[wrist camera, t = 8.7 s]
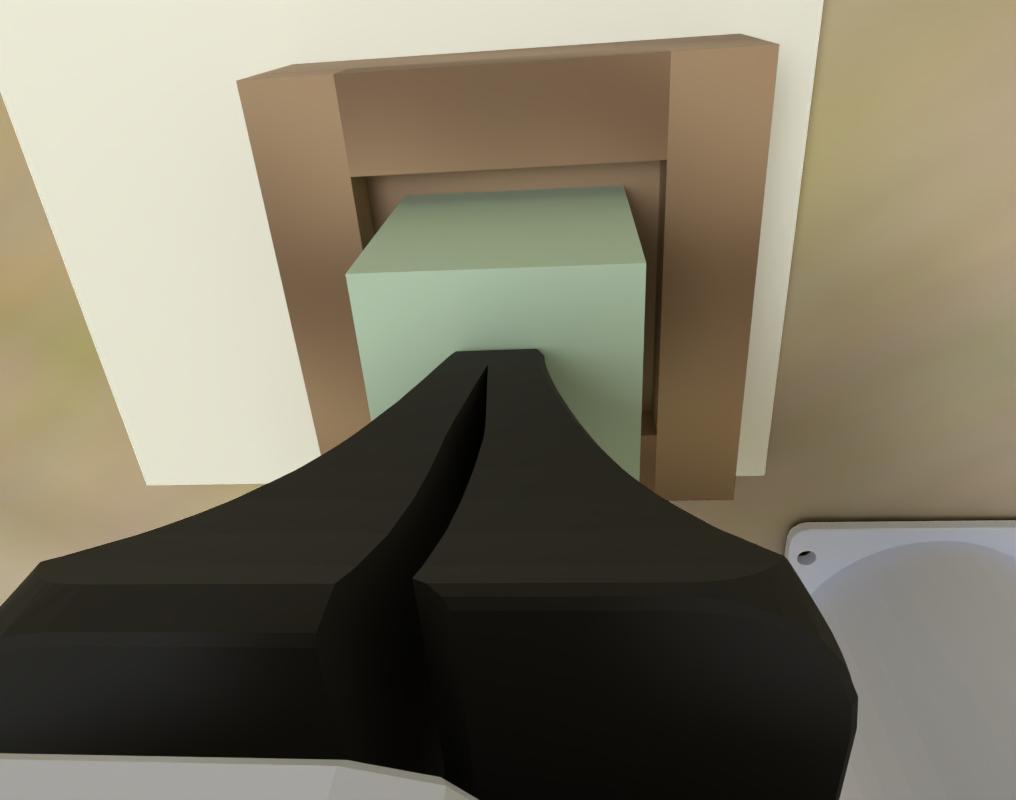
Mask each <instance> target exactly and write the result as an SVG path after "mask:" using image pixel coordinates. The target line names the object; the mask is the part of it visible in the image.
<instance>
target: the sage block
mask: <svg viewBox="0 0 1016 800" xmlns="http://www.w3.org/2000/svg"><path fill="white" fill-rule="evenodd" d="M345 275H346V280H347V286H348V292H349V297H350V303H351V309H352V314H353V320H354V326H355V332H356V337H357V343H358V349H359V354H360V360H361V366H362V372H363V377H364V383H365V389H366V394H367V400H368V406H369V411H370V417H371V421H373V420H374V419H375V418H376V417H378V416H379V415H380V414H382V413H383V412H384V411H386V410H387V409H388V408H390V407H391V406H392V405H394V404H395V403H396V402H397V401H399V400H400V399H401V398H402V397H403V396H404V395H406V394H407V393H408V392H409V391H410V390H411V389H413V388H414V387H415V386H416V385H417V384H418V383H419V382H421V381H422V380H423V379H424V378H425V377H426V376H427V375H429V374H430V373H431V372H432V371H433V370H434V369H435V368H436V367H437V366H439V365H440V364H441V363H442V362H443V361H444V360H445V359H446V358H448V357H449V356H450V355H451V354H453V353H454V352H455V351H483V350H515V349H538V350H539V351H540V352H541V353H542V354H543V355H544V356H545V364H546V367H547V370H548V372H549V375H550V377H551V379H552V381H553V383H554V385H555V386H556V388H557V390H558V392H559V393H560V395H561V396H562V398H563V400H564V401H565V403H566V404H567V406H568V407H569V409H570V410H571V412H572V413H573V415H574V416H575V417H576V419H577V420H578V421H579V423H580V424H581V425H582V426H583V427H584V429H585V430H586V431H587V432H588V434H589V435H590V436H591V437H592V438H593V440H594V441H595V442H596V443H597V444H598V445H599V446H600V447H601V448H602V449H603V450H604V451H605V452H606V453H607V454H608V455H609V456H610V457H611V458H612V459H613V460H614V461H615V462H616V463H617V464H618V465H619V466H620V467H621V468H622V469H623V470H625V471H626V472H627V473H628V474H629V475H631V476H632V477H634V478H635V479H636V480H638V481H639V477H640V446H641V414H642V383H643V352H644V320H645V289H646V260H645V257H644V254H643V250H642V247H641V243H640V240H639V237H638V233H637V230H636V226H635V223H634V219H633V216H632V213H631V209H630V206H629V202H628V199H627V196H626V192H625V189H624V185H617V186H595V187H573V188H551V189H529V190H507V191H485V192H463V193H440V194H418V195H405V196H404V197H403V199H402V200H401V201H400V203H399V204H398V205H397V207H396V208H395V209H394V211H393V212H392V213H391V215H390V216H389V217H388V218H387V220H386V221H385V222H384V224H383V225H382V226H381V228H380V229H379V230H378V232H377V233H376V234H375V236H374V237H373V238H372V240H371V241H370V242H369V244H368V245H367V246H366V247H365V249H364V250H363V251H362V253H361V254H360V255H359V257H358V258H357V259H356V261H355V262H354V263H353V265H352V266H351V267H350V269H349V270H348V271H347V273H346V274H345Z"/></svg>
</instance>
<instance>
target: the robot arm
mask: <svg viewBox="0 0 1016 800" xmlns="http://www.w3.org/2000/svg"><path fill="white" fill-rule="evenodd" d="M804 551H811V552H810V553H809V554H807V555H804V556H799V554H800V553H802V552H804ZM0 800H1016V520H985V521H885V522H806V523H800V524H798V525H796V526H794V527H793V528H792V529H791V530H790V531H789V533H788V536H787V541H786V548H785V554H784V556H782V555H780V554H777V553H775V552H772V551H770V550H768V549H765V548H763V547H761V546H758V545H756V544H753V543H751V542H749V541H746V540H744V539H741V538H739V537H737V536H734V535H732V534H729V533H727V532H725V531H722V530H720V529H718V528H716V527H714V526H712V525H710V524H708V523H706V522H704V521H702V520H700V519H699V518H697V517H695V516H693V515H691V514H689V513H687V512H686V511H684V510H682V509H680V508H678V507H677V506H675V505H673V504H672V503H670V502H669V501H667V500H665V499H664V498H662V497H660V496H659V495H657V494H656V493H654V492H653V491H652V490H650V489H649V488H647V487H646V486H645V485H643V484H642V483H641V482H639V481H638V480H636V479H635V478H634V477H632V476H631V475H629V474H628V473H627V472H626V471H625V470H623V469H622V468H621V467H620V466H619V465H618V464H617V463H616V462H615V461H614V460H613V459H612V458H611V457H610V456H609V455H608V454H607V453H606V452H605V451H604V450H603V449H602V448H601V447H600V446H599V445H598V444H597V443H596V442H595V441H594V440H593V438H592V437H591V436H590V435H589V434H588V432H587V431H586V430H585V429H584V427H583V426H582V425H581V424H580V423H579V421H578V420H577V419H576V417H575V416H574V415H573V413H572V412H571V410H570V409H569V407H568V406H567V404H566V403H565V401H564V400H563V398H562V396H561V395H560V393H559V392H558V390H557V388H556V386H555V385H554V383H553V381H552V379H551V377H550V375H549V372H548V370H547V367H546V364H545V356H544V355H543V354H542V353H541V352H540V351H539V350H538V349H515V350H483V351H455V352H454V353H453V354H451V355H450V356H449V357H448V358H446V359H445V360H444V361H443V362H442V363H441V364H440V365H439V366H437V367H436V368H435V369H434V370H433V371H432V372H431V373H430V374H429V375H427V376H426V377H425V378H424V379H423V380H422V381H421V382H419V383H418V384H417V385H416V386H415V387H414V388H413V389H411V390H410V391H409V392H408V393H407V394H406V395H404V396H403V397H402V398H401V399H400V400H399V401H397V402H396V403H395V404H394V405H392V406H391V407H390V408H388V409H387V410H386V411H384V412H383V413H382V414H380V415H379V416H378V417H376V418H375V419H374V420H373V421H371V422H370V423H369V424H367V425H366V426H365V427H363V428H362V429H361V430H359V431H358V432H357V433H355V434H354V435H352V436H351V437H349V438H348V439H346V440H345V441H343V442H342V443H340V444H339V445H337V446H336V447H334V448H333V449H331V450H329V451H328V452H326V453H324V454H323V455H321V456H319V457H317V458H316V459H314V460H312V461H311V462H309V463H307V464H305V465H304V466H302V467H300V468H298V469H296V470H295V471H293V472H291V473H289V474H286V475H284V476H282V477H280V478H278V479H276V480H274V481H272V482H270V483H268V484H266V485H263V486H261V487H259V488H257V489H255V490H253V491H251V492H249V493H247V494H245V495H243V496H241V497H238V498H236V499H234V500H231V501H229V502H227V503H224V504H222V505H219V506H217V507H214V508H212V509H209V510H207V511H204V512H202V513H199V514H196V515H194V516H191V517H188V518H185V519H183V520H180V521H177V522H174V523H171V524H169V525H166V526H163V527H160V528H157V529H154V530H151V531H148V532H145V533H142V534H139V535H136V536H132V537H129V538H125V539H122V540H118V541H115V542H111V543H108V544H104V545H101V546H97V547H94V548H90V549H87V550H83V551H80V552H76V553H73V554H69V555H66V556H62V557H58V558H54V559H50V560H46V561H42V562H40V563H39V564H38V565H37V566H36V568H35V569H34V570H33V571H32V572H31V573H30V574H29V575H28V577H27V578H26V579H25V580H24V581H23V582H22V583H21V584H20V585H19V587H18V588H17V589H16V590H15V591H14V592H13V593H12V594H11V595H10V597H9V598H8V599H7V600H6V601H5V602H4V603H3V604H2V605H1V606H0Z"/></svg>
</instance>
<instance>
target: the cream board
mask: <svg viewBox="0 0 1016 800" xmlns="http://www.w3.org/2000/svg"><path fill="white" fill-rule="evenodd" d="M823 2H824V0H0V92H1V95H2V97H3V100H4V103H5V105H6V108H7V111H8V113H9V116H10V119H11V121H12V124H13V127H14V130H15V132H16V135H17V138H18V140H19V143H20V146H21V148H22V151H23V154H24V156H25V159H26V162H27V164H28V167H29V170H30V173H31V175H32V178H33V181H34V183H35V186H36V189H37V191H38V194H39V197H40V199H41V202H42V205H43V207H44V210H45V213H46V215H47V218H48V221H49V224H50V226H51V229H52V232H53V234H54V237H55V240H56V242H57V245H58V248H59V250H60V253H61V256H62V258H63V261H64V264H65V267H66V269H67V272H68V275H69V277H70V280H71V283H72V285H73V288H74V291H75V293H76V296H77V299H78V301H79V304H80V307H81V309H82V312H83V315H84V318H85V320H86V323H87V326H88V328H89V331H90V334H91V336H92V339H93V342H94V344H95V347H96V350H97V352H98V355H99V358H100V361H101V363H102V366H103V369H104V371H105V374H106V377H107V379H108V382H109V385H110V387H111V390H112V393H113V395H114V398H115V401H116V403H117V406H118V409H119V412H120V414H121V417H122V420H123V422H124V425H125V428H126V430H127V433H128V436H129V438H130V441H131V444H132V446H133V449H134V452H135V455H136V457H137V460H138V463H139V465H140V468H141V471H142V473H143V476H144V479H145V481H146V484H147V485H199V484H264V483H270V482H272V481H274V480H276V479H278V478H280V477H282V476H284V475H286V474H289V473H291V472H293V471H295V470H296V469H298V468H300V467H302V466H304V465H305V464H307V463H309V462H311V461H312V460H314V459H316V458H317V457H319V456H321V454H320V449H319V445H318V440H317V436H316V431H315V427H314V423H313V418H312V414H311V409H310V405H309V401H308V396H307V392H306V387H305V383H304V379H303V374H302V370H301V365H300V361H299V356H298V352H297V348H296V343H295V339H294V334H293V330H292V326H291V321H290V317H289V312H288V308H287V304H286V299H285V295H284V290H283V286H282V281H281V277H280V273H279V268H278V264H277V259H276V255H275V251H274V246H273V242H272V237H271V233H270V229H269V224H268V220H267V215H266V211H265V206H264V202H263V198H262V193H261V189H260V184H259V180H258V176H257V171H256V167H255V162H254V158H253V154H252V149H251V145H250V140H249V136H248V131H247V127H246V123H245V118H244V114H243V109H242V105H241V101H240V96H239V92H238V87H237V83H236V81H237V80H240V79H244V78H247V77H251V76H254V75H257V74H261V73H264V72H268V71H271V70H275V69H278V68H281V67H285V66H288V65H292V64H304V63H318V62H333V61H347V60H362V59H376V58H391V57H405V56H420V55H435V54H449V53H464V52H478V51H493V50H507V49H522V48H536V47H551V46H566V45H580V44H595V43H609V42H624V41H638V40H653V39H667V38H682V37H696V36H711V35H726V34H740V33H741V34H744V35H748V36H751V37H755V38H759V39H762V40H766V41H770V42H773V43H777V44H780V45H779V54H778V64H777V74H776V84H775V94H774V104H773V114H772V123H771V133H770V143H769V153H768V163H767V173H766V183H765V192H764V202H763V212H762V222H761V232H760V242H759V252H758V262H757V271H756V281H755V291H754V301H753V311H752V321H751V331H750V340H749V350H748V360H747V370H746V380H745V390H744V400H743V409H742V419H741V429H740V439H739V449H738V459H737V469H736V476H765V468H766V460H767V452H768V444H769V436H770V428H771V420H772V412H773V404H774V396H775V387H776V379H777V371H778V363H779V355H780V347H781V339H782V331H783V323H784V315H785V307H786V299H787V291H788V283H789V275H790V267H791V259H792V251H793V243H794V235H795V227H796V219H797V211H798V203H799V195H800V186H801V178H802V170H803V162H804V154H805V146H806V138H807V130H808V122H809V114H810V106H811V98H812V90H813V82H814V74H815V66H816V58H817V50H818V42H819V34H820V26H821V18H822V10H823Z"/></svg>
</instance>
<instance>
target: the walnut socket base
mask: <svg viewBox="0 0 1016 800" xmlns="http://www.w3.org/2000/svg"><path fill="white" fill-rule="evenodd" d="M779 45H780V44H777V43H773V42H770V41H766V40H762V39H759V38H755V37H751V36H748V35H744V34H741V33H740V34H726V35H711V36H696V37H682V38H667V39H653V40H638V41H624V42H609V43H595V44H580V45H566V46H551V47H536V48H522V49H507V50H493V51H478V52H464V53H449V54H435V55H420V56H405V57H391V58H376V59H362V60H347V61H333V62H318V63H304V64H292V65H288V66H285V67H281V68H278V69H275V70H271V71H268V72H264V73H261V74H257V75H254V76H251V77H247V78H244V79H240V80H237V81H236V83H237V87H238V92H239V96H240V101H241V105H242V109H243V114H244V118H245V123H246V127H247V131H248V136H249V140H250V145H251V149H252V154H253V158H254V162H255V167H256V171H257V176H258V180H259V184H260V189H261V193H262V198H263V202H264V206H265V211H266V215H267V220H268V224H269V229H270V233H271V237H272V242H273V246H274V251H275V255H276V259H277V264H278V268H279V273H280V277H281V281H282V286H283V290H284V295H285V299H286V304H287V308H288V312H289V317H290V321H291V326H292V330H293V334H294V339H295V343H296V348H297V352H298V356H299V361H300V365H301V370H302V374H303V379H304V383H305V387H306V392H307V396H308V401H309V405H310V409H311V414H312V418H313V423H314V427H315V431H316V436H317V440H318V445H319V449H320V454H321V455H323V454H324V453H326V452H328V451H329V450H331V449H333V448H334V447H336V446H337V445H339V444H340V443H342V442H343V441H345V440H346V439H348V438H349V437H351V436H352V435H354V434H355V433H357V432H358V431H359V430H361V429H362V428H363V427H365V426H366V425H367V424H369V423H370V422H371V417H370V411H369V406H368V400H367V394H366V389H365V383H364V377H363V372H362V366H361V360H360V354H359V349H358V343H357V337H356V332H355V326H354V320H353V314H352V309H351V303H350V297H349V292H348V286H347V280H346V275H345V274H346V273H347V271H348V270H349V269H350V267H351V266H352V265H353V263H354V262H355V261H356V259H357V258H358V257H359V255H360V254H361V253H362V251H363V250H364V249H365V247H366V246H367V245H368V244H369V242H370V241H371V240H372V238H373V237H374V236H375V234H376V233H377V232H378V230H379V229H380V228H381V226H382V225H383V224H384V222H385V221H386V220H387V218H388V217H389V216H390V215H391V213H392V212H393V211H394V209H395V208H396V207H397V205H398V204H399V203H400V201H401V200H402V199H403V197H404V196H405V195H418V194H440V193H463V192H485V191H507V190H529V189H551V188H573V187H595V186H617V185H624V189H625V192H626V196H627V199H628V202H629V206H630V209H631V213H632V216H633V219H634V223H635V226H636V230H637V233H638V237H639V240H640V243H641V247H642V250H643V254H644V257H645V260H646V289H645V320H644V352H643V383H642V414H641V446H640V477H639V482H641V483H642V484H643V485H645V486H646V487H647V488H649V489H650V490H652V491H653V492H654V493H656V494H657V495H659V496H660V497H662V498H664V499H665V500H667V501H675V500H733V498H734V488H735V479H736V469H737V459H738V449H739V439H740V429H741V419H742V409H743V400H744V390H745V380H746V370H747V360H748V350H749V340H750V331H751V321H752V311H753V301H754V291H755V281H756V271H757V262H758V252H759V242H760V232H761V222H762V212H763V202H764V192H765V183H766V173H767V163H768V153H769V143H770V133H771V123H772V114H773V104H774V94H775V84H776V74H777V64H778V54H779Z"/></svg>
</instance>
